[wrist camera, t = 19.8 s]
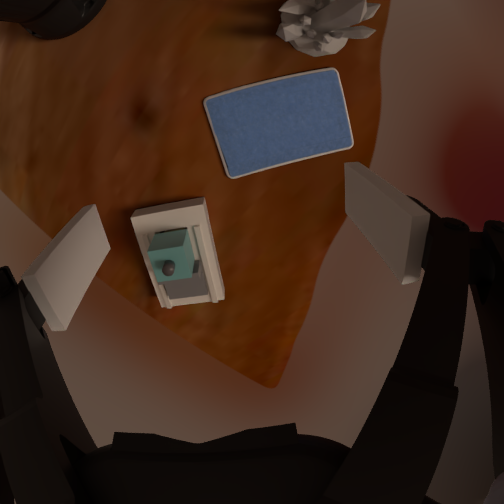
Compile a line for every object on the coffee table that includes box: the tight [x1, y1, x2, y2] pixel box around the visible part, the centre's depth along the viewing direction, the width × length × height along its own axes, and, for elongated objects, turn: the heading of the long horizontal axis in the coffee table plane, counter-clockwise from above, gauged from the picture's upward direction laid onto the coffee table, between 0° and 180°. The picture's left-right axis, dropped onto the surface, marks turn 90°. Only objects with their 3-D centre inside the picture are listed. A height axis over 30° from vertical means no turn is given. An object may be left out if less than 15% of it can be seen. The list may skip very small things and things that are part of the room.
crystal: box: [276, 0, 380, 57], centre depth 26 cm, size 10×13×15 cm
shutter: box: [158, 260, 208, 300], centre depth 46 cm, size 6×6×3 cm
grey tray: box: [131, 197, 224, 309], centre depth 47 cm, size 17×11×4 cm, turn 7°
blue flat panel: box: [203, 68, 354, 179], centre depth 40 cm, size 19×13×1 cm, turn 106°
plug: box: [147, 227, 195, 282], centre depth 43 cm, size 5×5×10 cm
